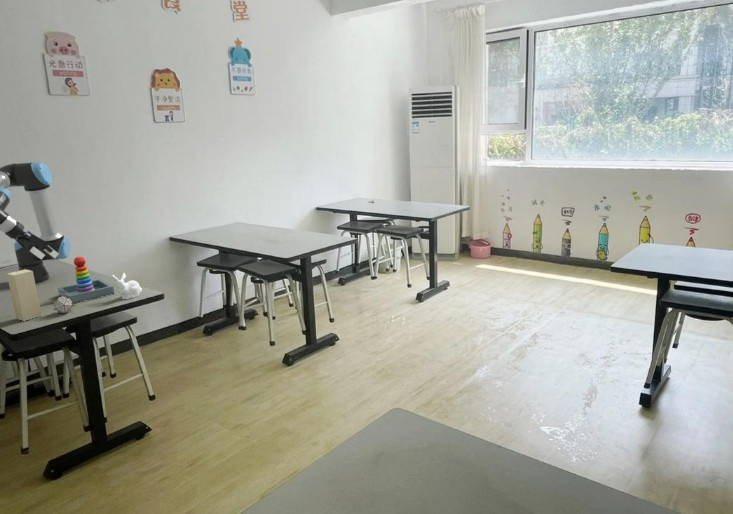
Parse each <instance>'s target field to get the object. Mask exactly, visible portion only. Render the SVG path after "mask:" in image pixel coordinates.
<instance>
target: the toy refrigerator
mask: <svg viewBox="0 0 733 514" xmlns="http://www.w3.org/2000/svg"><path fill="white" fill-rule="evenodd" d="M6 277H7V280H8V281H7V282H8V286H9V291H10V297H11V300H12V304H13V309H14V314H15V319H16V320H17V319H19V320H18V321H20V320H22V321H21V322H23V321H24V322H27V321H26V320H28V321H30V320H29V319H31V320H33V319H32V318H34V319H36V318H35V317H38V316H41V317H42V311H41V306H40V301H39V296H38V291H37V286H36V282H35V280H34V275H33V271H31V270H21V271H19V270H18V271H13V272H8V273H7V274H6ZM38 318H39V317H38Z"/></svg>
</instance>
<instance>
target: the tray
mask: <svg viewBox="0 0 733 514" xmlns="http://www.w3.org/2000/svg"><path fill="white" fill-rule="evenodd" d="M91 281H92V285H93V288H94V289H95V290H91V291H87V292H83V293H78V294H77V285H76V284H77V283H76V284H70V285H66V286H61V287H58V288H57V290H58V291H57V292H58V296H59V297H60V295H62V296H63V297H67V296H69V297H68V298H69V299H70V300H71V299H73V300H71V301H72V304H73V303H75V304H78V303H77V302H79V303H81V302H80V301H83V302H85V301H84V300H88V301H90V300H89V299H92V300H94V299H93V298H96V299H98V298H97V297H100V298H102V297H101V296H104V297H107V296H106V295H109V296H111V295H110V294H113V295H115V290H114V286H113V285H111V283H108V282H106V281H105V280H103V279H102V278H98V279H94V280H91ZM73 305H74V304H73Z"/></svg>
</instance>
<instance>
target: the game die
mask: <svg viewBox="0 0 733 514" xmlns="http://www.w3.org/2000/svg"><path fill="white" fill-rule="evenodd" d="M60 296H61V297H60ZM60 296H59V297H58V298H55V301H54V302H52V303H51V304H52V305H53V306H54V307H53V308H54V309H53V311H57V314H60V313H62V314H64V315H65V314H66V315H67V312H69V311H72V310H71V309H72V308H73V307H75V306H76V305H75V304H72V301H71V300H73V299H71V300H70V299H69V298H68V297H69V296H67V297H63V296H62V295H60Z"/></svg>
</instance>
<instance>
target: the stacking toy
mask: <svg viewBox="0 0 733 514" xmlns="http://www.w3.org/2000/svg"><path fill="white" fill-rule="evenodd" d="M86 262H87V261H86V258H85V257H84V256H77V257H75V258H74V259H73V264H74V265H75V278H76V280H75V282H76V285H77V294H78V293H83V292H87V291H91V290H95V289H94V288H93V285H92V281H93V280H92V277H90V273H89V270H88V267H87V266H86V265H85V264H86Z"/></svg>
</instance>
